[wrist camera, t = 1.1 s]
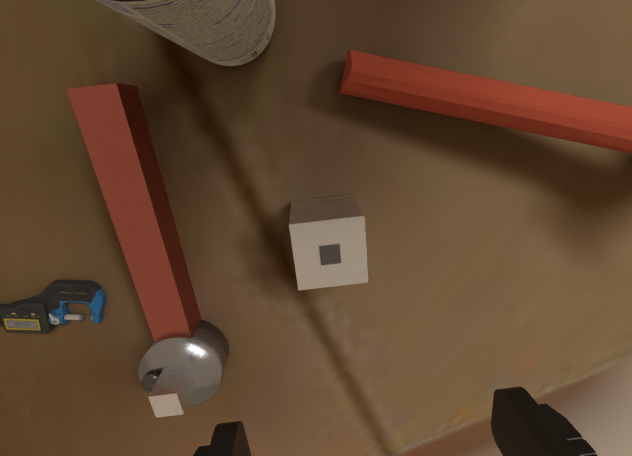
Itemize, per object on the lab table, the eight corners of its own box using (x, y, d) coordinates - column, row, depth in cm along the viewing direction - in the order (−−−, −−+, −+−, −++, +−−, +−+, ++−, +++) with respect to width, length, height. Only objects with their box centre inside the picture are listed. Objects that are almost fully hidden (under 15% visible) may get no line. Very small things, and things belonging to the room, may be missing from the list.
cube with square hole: (291, 201, 26) (288, 225, 21) (351, 194, 26) (364, 216, 21) (298, 255, 28) (298, 291, 23) (355, 249, 28) (368, 282, 23)
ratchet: (66, 94, 23) (-18, 88, 17) (163, 83, 23) (113, 73, 17) (166, 379, 32) (135, 442, 26) (235, 371, 32) (220, 432, 26)
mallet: (334, 92, 18) (888, 207, 17) (349, 21, 17) (944, 139, 16) (340, 103, 28) (687, 175, 27) (350, 59, 27) (712, 133, 26)
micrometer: (95, 288, 27) (103, 337, 29) (107, 277, 29) (114, 324, 30) (-60, 282, 26) (-43, 333, 27) (-38, 271, 28) (-23, 320, 29)
